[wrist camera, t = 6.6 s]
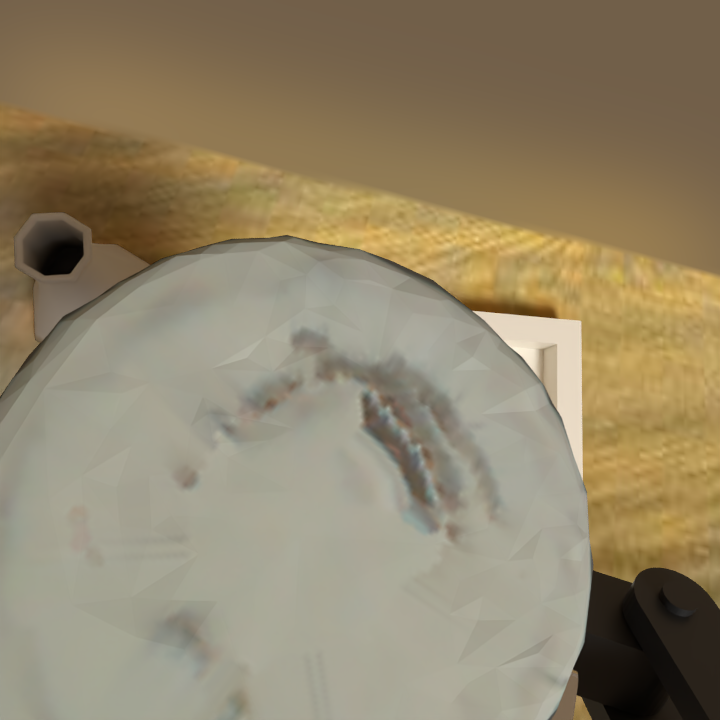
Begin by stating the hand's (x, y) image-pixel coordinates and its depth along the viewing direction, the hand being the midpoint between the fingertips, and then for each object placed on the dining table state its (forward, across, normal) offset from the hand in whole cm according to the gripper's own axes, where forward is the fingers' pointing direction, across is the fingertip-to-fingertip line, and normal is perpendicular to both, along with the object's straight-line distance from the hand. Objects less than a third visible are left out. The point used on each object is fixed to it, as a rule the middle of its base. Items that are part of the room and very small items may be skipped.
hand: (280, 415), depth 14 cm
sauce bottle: (+6, 0, +9) cm, 11 cm away
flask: (+24, +10, +12) cm, 28 cm away
